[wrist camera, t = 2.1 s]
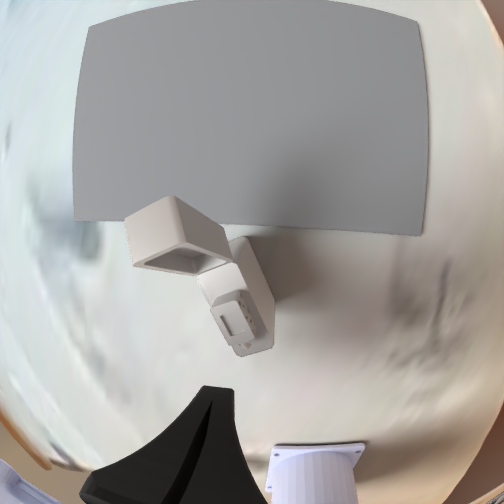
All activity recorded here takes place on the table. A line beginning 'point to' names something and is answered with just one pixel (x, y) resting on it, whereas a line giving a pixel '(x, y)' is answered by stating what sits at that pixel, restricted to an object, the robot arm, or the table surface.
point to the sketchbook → (497, 499)
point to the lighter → (207, 268)
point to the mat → (255, 115)
